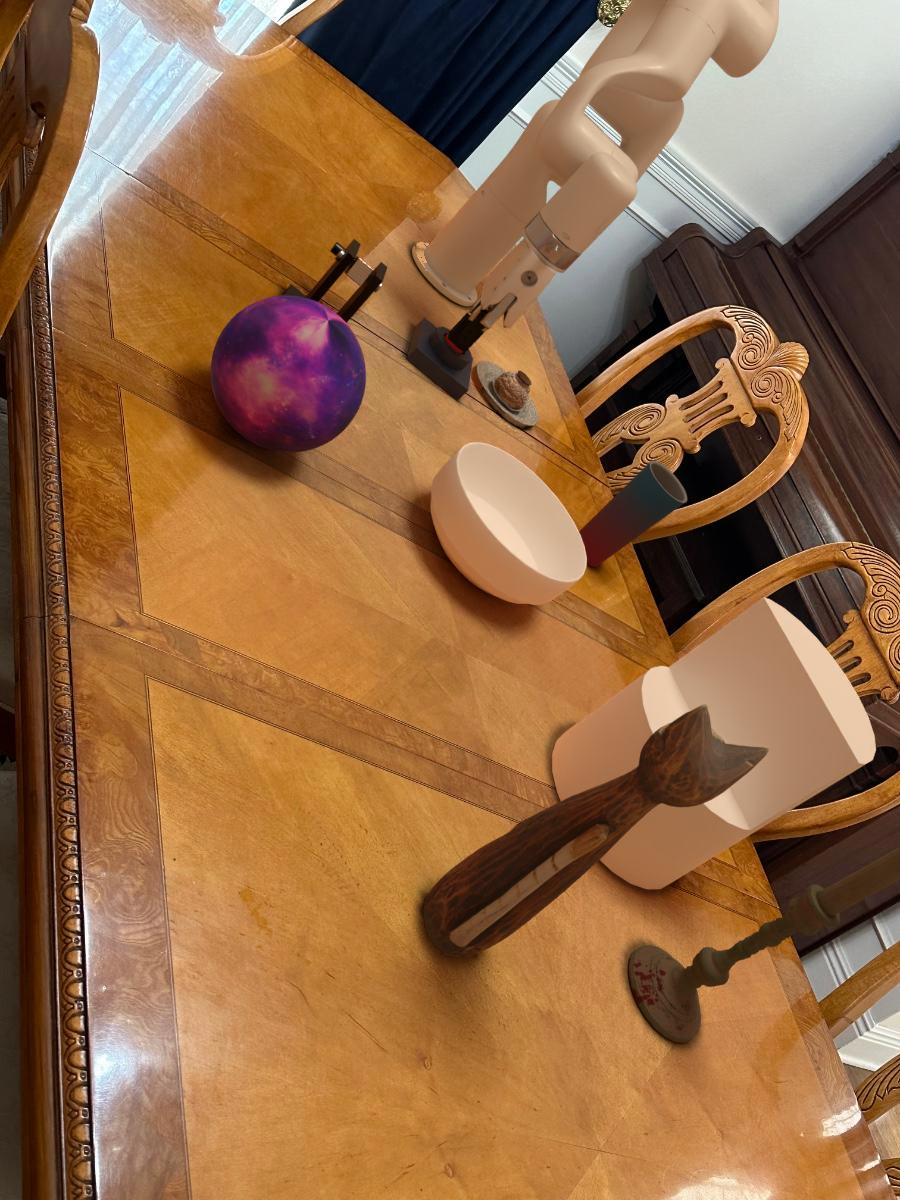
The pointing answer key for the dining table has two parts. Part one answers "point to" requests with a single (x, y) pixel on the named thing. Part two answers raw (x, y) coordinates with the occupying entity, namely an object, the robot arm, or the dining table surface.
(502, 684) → the dining table surface
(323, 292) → the bracket
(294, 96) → the dining table surface
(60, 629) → the dining table surface
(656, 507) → the cup
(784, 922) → the candlestick holder
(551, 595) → the bowl
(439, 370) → the button box
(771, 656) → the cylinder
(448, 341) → the button
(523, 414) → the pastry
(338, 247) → the lever
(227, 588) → the dining table surface
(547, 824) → the sculpture
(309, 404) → the decorative orb
